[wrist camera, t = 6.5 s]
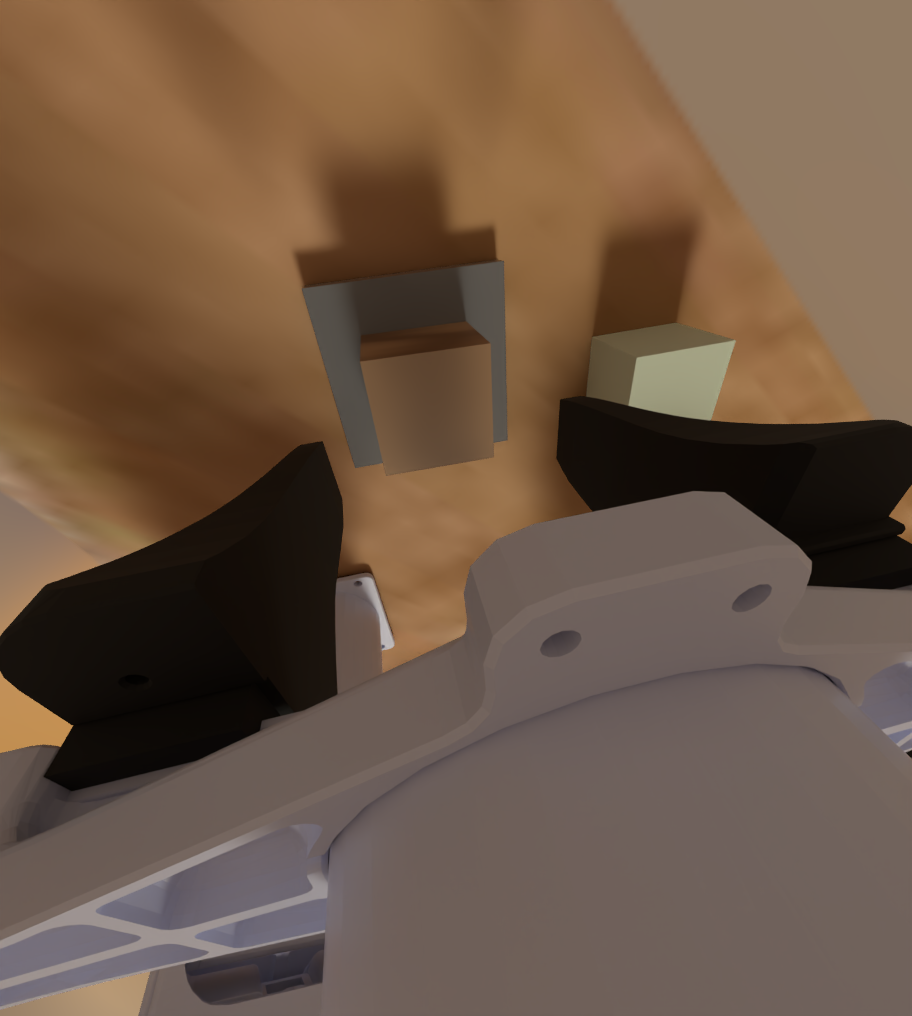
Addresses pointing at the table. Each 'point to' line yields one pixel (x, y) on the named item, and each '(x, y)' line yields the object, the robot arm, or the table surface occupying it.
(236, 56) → the table surface
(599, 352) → the sage cube
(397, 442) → the walnut block
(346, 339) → the slate board
